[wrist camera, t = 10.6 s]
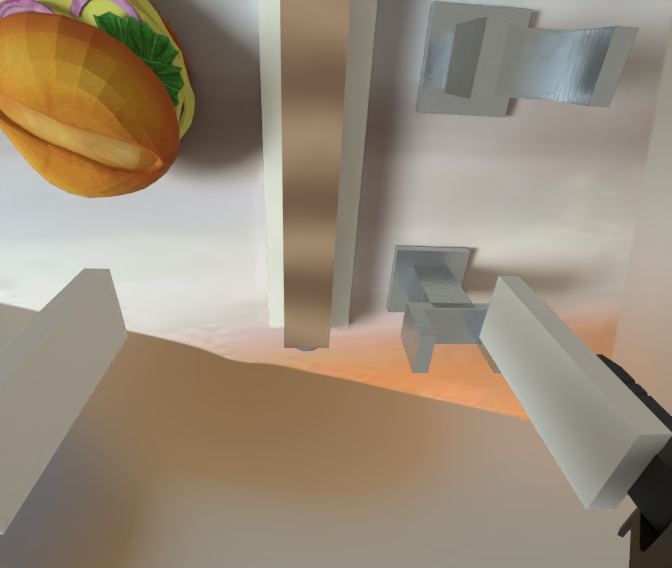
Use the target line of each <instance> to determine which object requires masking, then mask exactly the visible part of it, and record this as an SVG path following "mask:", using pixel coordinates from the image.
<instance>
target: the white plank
mask: <svg viewBox="0 0 672 568" xmlns="http://www.w3.org/2000/svg"><path fill="white" fill-rule="evenodd" d="M377 3H378V0H350V13H349V29H348V46H347V62H346V78H345V94H344V111H343V127H342V143H341V159H340V175H339V192H338V208H337V224H336V240H335V257H334V273H333V289H332V305H331V322H330V328H348V322H349V311H350V300H351V289H352V278H353V267H354V256H355V245H356V234H357V223H358V212H359V201H360V190H361V179H362V168H363V157H364V146H365V135H366V124H367V113H368V102H369V91H370V80H371V69H372V58H373V47H374V36H375V25H376V14H377ZM258 25H259V52H260V80H261V107H262V135H263V162H264V190H265V217H266V245H267V272H268V300H269V327H284V273H283V194H282V116H281V37H280V0H258Z"/></svg>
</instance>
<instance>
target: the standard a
mask: <svg viewBox="0 0 672 568" xmlns="http://www.w3.org/2000/svg"><path fill="white" fill-rule="evenodd" d="M469 255H470V251H469V250H468V249H467V248H456V247H420V246H396V247H395V254H394V261H393V268H392V274H391V281H390V288H389V295H388V301H387V310H388V312H405V314H404V320H403V326H402V331H401V339H402V342H403V345H404V349H405V352H406V355H407V358H408V361H409V364H410V367H411V370H412V373H428V369H429V365H430V361H431V356H432V352H433V348H434V344H477V345H478V347H479V349H480V350H481V352H482V354H483V355H484V357H485V359H486V360H487V362H488V364H489V365H490V367H491V369H492V370H493V372H494V373H501V371H500V370H499V368H498V367H497V365H496V363H495V362H494V360H493V359H492V357H491V355H490V354H489V352H488V350H487V349H486V347H485V346H484V344H483V342H482V341H481V339H480V338H479V336H480V333H481V329H482V326H483V323H484V320H485V317H486V314H487V310H488V307H489V304H478V303H472V302H471V300H470V299H469V297H468V296H467V294H466V293H465V292H464V290H463V289H462V287H461V286H462V282H463V278H464V274H465V270H466V267H467V263H468V259H469Z"/></svg>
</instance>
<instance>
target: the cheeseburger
mask: <svg viewBox="0 0 672 568" xmlns="http://www.w3.org/2000/svg"><path fill="white" fill-rule="evenodd" d="M194 108H195V95H194V93H193V91H192V88H191V85H190V72H189V64H188V62H187V59H186V57H185V54H184V52H183V50H182V47H181V45H180V43H179V40H178V38H177V36H176V33H175V31H174V30H173V29H172V28H171V26H170V25H169V24H168V23H167V22H166V20H165V19H164V18H163V17H162V15H161V14H160V13H159V12H158V11H157V9H156V8H155V7H154V6H153V4H152V3H151V2H150V1H148V0H0V128H1V129H2V131H3V132H4V133H5V134H6V136H7V137H8V138H9V139H10V141H11V142H12V143H13V144H14V146H15V147H16V148H17V149H18V151H19V152H20V153H21V154H22V156H23V157H24V158H25V159H26V160H27V162H28V163H29V164H30V165H31V166H32V167H33V168H34V169H35V170H36V171H37V172H38V173H39V174H40V175H41V176H43V177H44V178H45V179H46V180H47V181H48V182H49V183H51V184H52V185H54V186H56V187H58V188H60V189H62V190H64V191H66V192H68V193H71V194H75V195H79V196H83V197H87V198H97V197H112V196H119V195H124V194H129V193H133V192H136V191H139V190H142V189H145V188H146V187H148V186H149V185H151V184H152V183H154V182H155V181H157V180H158V179H159V178H161V177H162V176H163V175H164V174H165V173H166V172H167V171H168V169H169V168H170V167H171V165H172V164H173V163H174V161H175V160H176V158H177V156H178V153H179V151H180V139H181V138H182V137H183V135H184V134H185V133H186V131H187V130H188V128H189V127H190V125H191V123H192V119H193V115H194Z"/></svg>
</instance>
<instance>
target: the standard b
mask: <svg viewBox="0 0 672 568" xmlns="http://www.w3.org/2000/svg"><path fill="white" fill-rule="evenodd" d="M532 10H533V9H522V8H510V7H497V6H485V5H473V4H461V3H448V2H436V1H435V2H433V3H432V5H431V11H430V18H429V25H428V32H427V38H426V45H425V52H424V59H423V65H422V72H421V79H420V86H419V92H418V99H417V106H416V111H417V112H423V113H440V114H458V115H475V116H493V117H505V115H506V111H507V107H508V103H509V99H510V98H524V99H541V100H554V101H560V102H566V103H573V104H579V105H585V106H596V107H609V106H610V103H611V100H612V98H613V95H614V92H615V90H616V87H617V84H618V82H619V79H620V77H621V74H622V71H623V69H624V66H625V63H626V61H627V58H628V55H629V53H630V50H631V47H632V45H633V42H634V39H635V37H636V34H637V32H638V29H639V28H632V27H619V26H614V27H605V28H597V29H588V30H579V31H564V30H551V29H538V28H528V25H529V22H530V18H531V14H532Z"/></svg>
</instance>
